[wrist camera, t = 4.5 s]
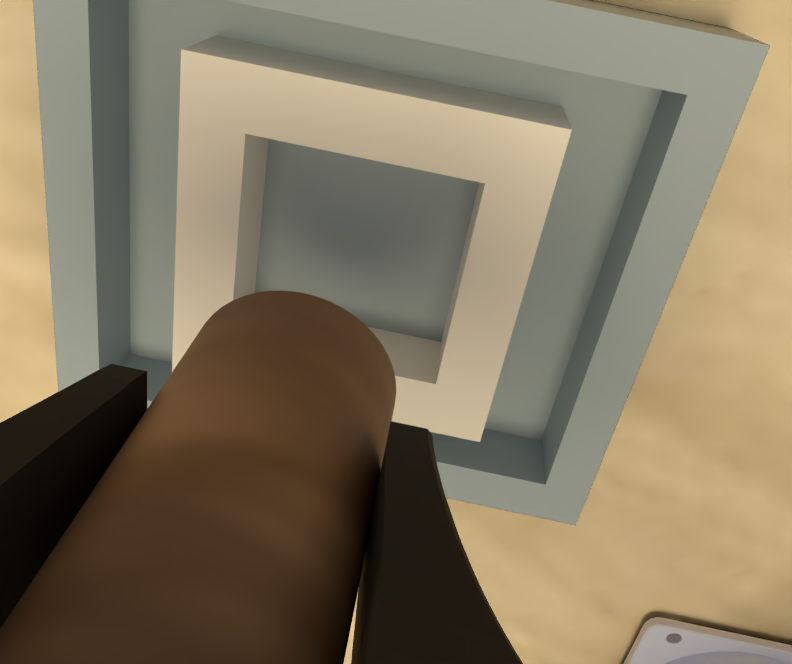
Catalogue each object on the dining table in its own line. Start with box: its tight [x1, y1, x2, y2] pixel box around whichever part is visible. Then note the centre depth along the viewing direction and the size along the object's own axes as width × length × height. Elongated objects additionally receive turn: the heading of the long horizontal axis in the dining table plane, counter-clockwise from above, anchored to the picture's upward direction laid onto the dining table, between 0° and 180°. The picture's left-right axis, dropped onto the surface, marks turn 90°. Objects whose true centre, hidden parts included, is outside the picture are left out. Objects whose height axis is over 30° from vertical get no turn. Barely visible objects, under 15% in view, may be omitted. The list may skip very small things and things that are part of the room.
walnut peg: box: [0, 291, 396, 664], centre depth 11 cm, size 4×4×8 cm
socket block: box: [172, 36, 572, 442], centre depth 19 cm, size 8×8×2 cm
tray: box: [33, 0, 770, 525], centre depth 19 cm, size 15×13×3 cm
